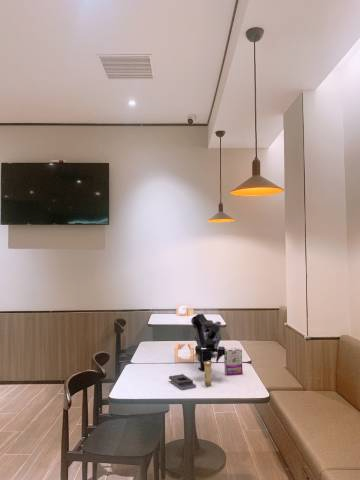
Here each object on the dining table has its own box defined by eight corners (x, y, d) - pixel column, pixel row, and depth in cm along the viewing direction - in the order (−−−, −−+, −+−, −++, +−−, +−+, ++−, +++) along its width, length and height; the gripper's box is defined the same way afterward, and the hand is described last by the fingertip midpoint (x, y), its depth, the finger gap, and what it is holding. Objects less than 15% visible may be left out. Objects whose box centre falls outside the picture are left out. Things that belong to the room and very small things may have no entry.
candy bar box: (240, 372, 241) (239, 347, 242) (242, 374, 236) (242, 349, 237) (224, 373, 239) (223, 348, 240) (226, 375, 234) (226, 350, 235)
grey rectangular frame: (169, 381, 225) (169, 376, 225) (182, 378, 229) (182, 374, 229) (181, 390, 208) (181, 385, 208) (196, 387, 212) (196, 382, 212)
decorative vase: (193, 358, 276) (193, 322, 279) (195, 353, 295) (195, 318, 297) (221, 359, 274) (220, 322, 276) (221, 354, 292) (221, 319, 294)
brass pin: (202, 384, 217) (202, 361, 218) (209, 383, 219) (209, 360, 220) (206, 387, 213) (206, 363, 214) (213, 386, 215) (213, 362, 216)
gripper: (195, 333, 231) (192, 354, 219) (224, 333, 227) (223, 355, 215) (197, 342, 238) (195, 364, 226) (225, 343, 234) (224, 365, 222)
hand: (209, 362), depth 222 cm, fingers open, 9 cm apart
